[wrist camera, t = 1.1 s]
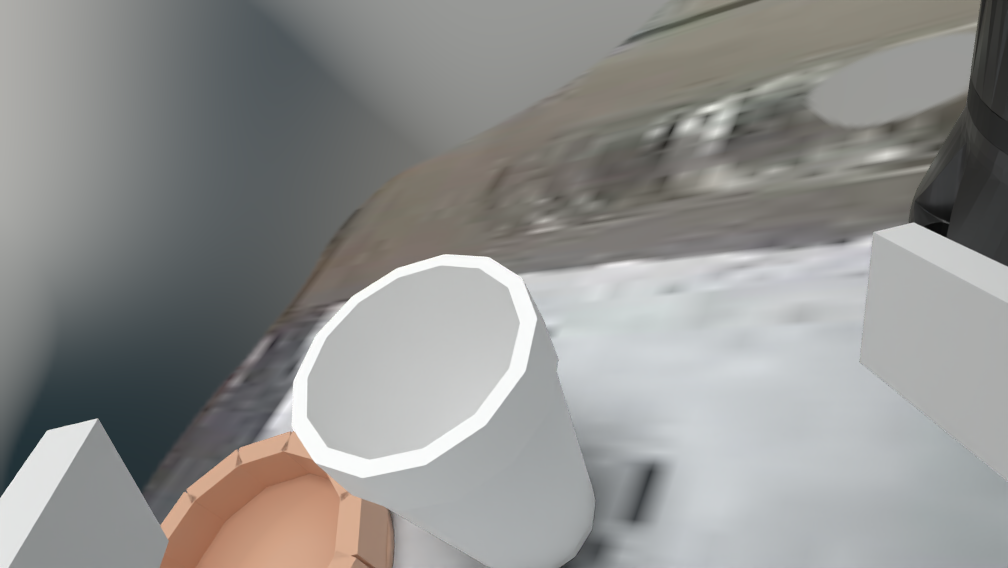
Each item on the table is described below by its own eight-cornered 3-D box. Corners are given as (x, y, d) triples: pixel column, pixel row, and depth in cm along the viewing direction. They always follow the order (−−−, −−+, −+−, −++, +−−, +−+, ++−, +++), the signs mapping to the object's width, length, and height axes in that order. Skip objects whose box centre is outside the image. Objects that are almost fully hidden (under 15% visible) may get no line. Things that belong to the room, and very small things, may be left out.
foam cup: (432, 465, 35) (296, 314, 27) (589, 398, 34) (500, 220, 26) (461, 649, 28) (287, 523, 20) (659, 570, 27) (568, 403, 19)
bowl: (338, 423, 40) (307, 393, 38) (437, 584, 31) (404, 556, 28) (154, 574, 37) (109, 551, 35) (201, 801, 28) (144, 789, 26)
